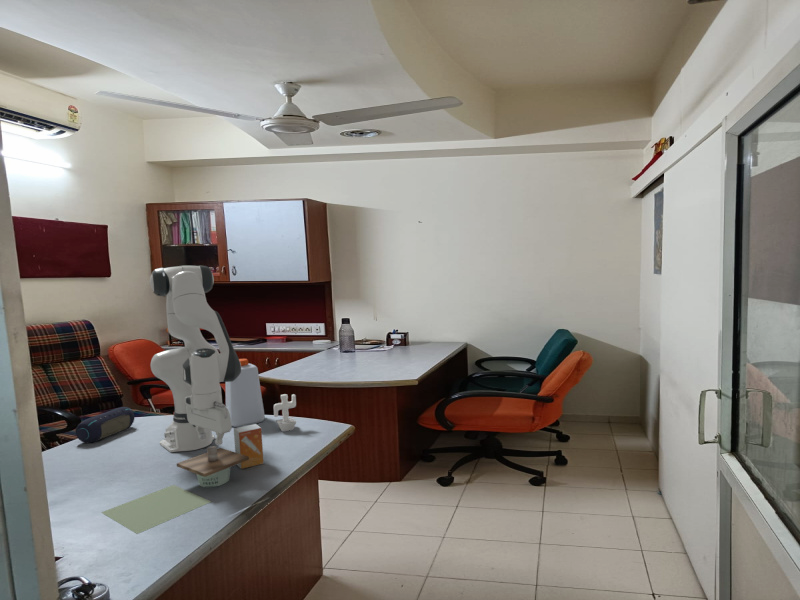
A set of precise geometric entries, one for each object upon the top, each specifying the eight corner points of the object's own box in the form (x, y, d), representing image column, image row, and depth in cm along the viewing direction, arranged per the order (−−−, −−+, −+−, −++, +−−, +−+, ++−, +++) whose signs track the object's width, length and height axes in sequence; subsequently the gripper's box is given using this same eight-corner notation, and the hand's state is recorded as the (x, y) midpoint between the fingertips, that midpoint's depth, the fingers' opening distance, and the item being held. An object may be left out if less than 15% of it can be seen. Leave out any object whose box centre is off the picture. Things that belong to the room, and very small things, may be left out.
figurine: (273, 429, 225) (271, 394, 224) (295, 425, 229) (293, 391, 228) (277, 433, 219) (274, 398, 218) (299, 429, 223) (297, 394, 221)
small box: (241, 469, 182) (238, 432, 181) (235, 464, 188) (233, 428, 187) (264, 463, 187) (261, 427, 186) (258, 458, 192) (255, 423, 191)
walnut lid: (176, 466, 171) (175, 451, 171) (220, 450, 184) (219, 436, 183) (204, 476, 161) (203, 460, 161) (248, 459, 174) (247, 444, 173)
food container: (192, 493, 166) (191, 472, 165) (196, 478, 177) (195, 459, 177) (233, 486, 169) (231, 466, 168) (234, 472, 180) (232, 453, 180)
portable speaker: (92, 446, 216) (90, 422, 215) (73, 444, 219) (71, 421, 218) (139, 426, 240) (137, 405, 239) (122, 425, 243) (120, 404, 242)
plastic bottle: (223, 421, 241) (218, 360, 239) (256, 414, 249) (252, 355, 247) (233, 429, 228) (228, 364, 226) (267, 421, 237) (263, 359, 234)
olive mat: (101, 513, 155) (101, 512, 155) (173, 486, 172) (173, 484, 172) (137, 535, 141) (137, 533, 141) (211, 502, 158) (211, 501, 158)
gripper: (234, 402, 167) (237, 444, 168) (199, 393, 180) (202, 432, 181) (217, 407, 162) (220, 451, 163) (181, 397, 175) (184, 438, 176)
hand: (210, 441), depth 172 cm, fingers open, 8 cm apart
